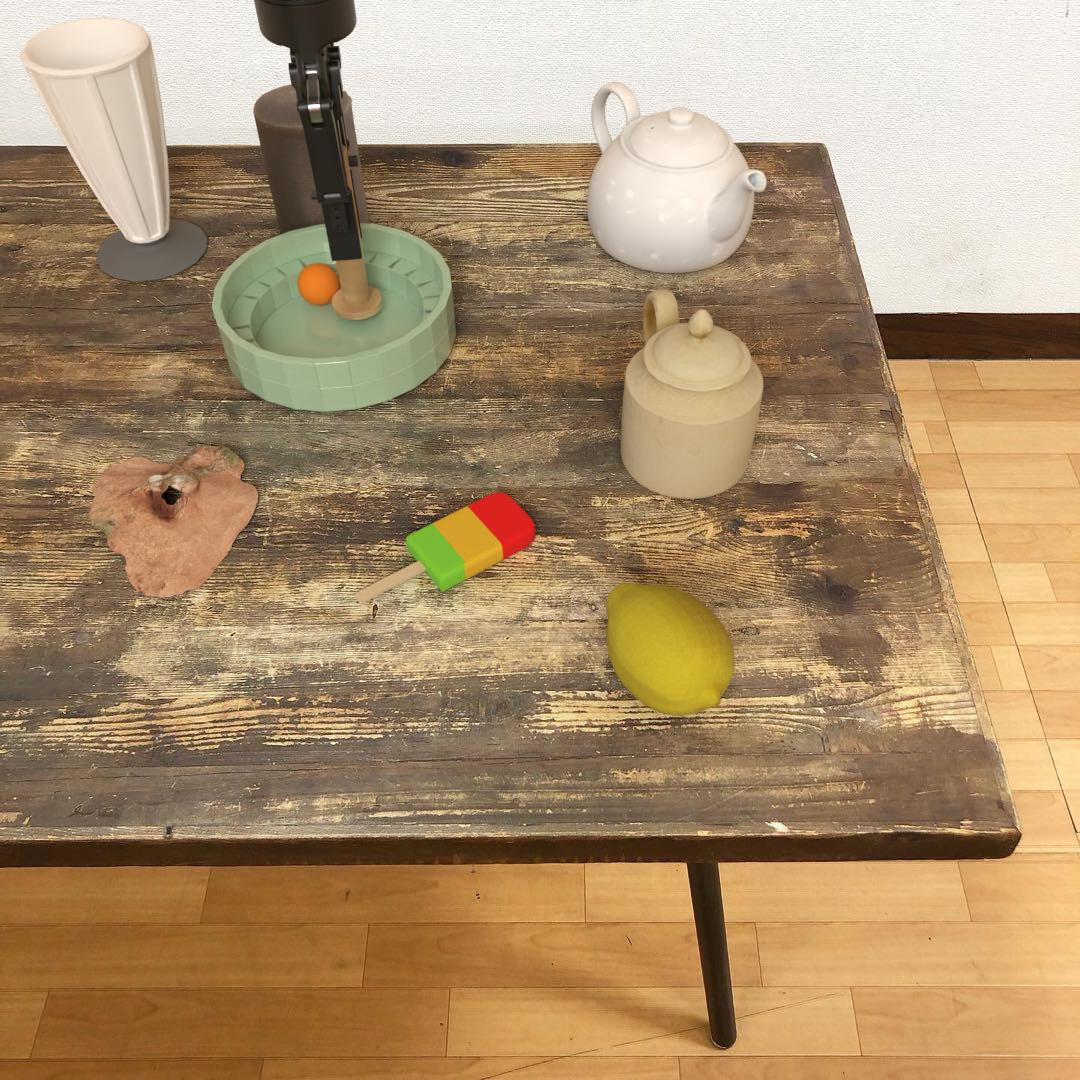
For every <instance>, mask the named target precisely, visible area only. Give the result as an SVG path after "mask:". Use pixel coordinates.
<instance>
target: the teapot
mask: <svg viewBox="0 0 1080 1080" xmlns="http://www.w3.org/2000/svg"><path fill="white" fill-rule="evenodd" d="M611 93H612V94H614V95H615V96H616V97H617V98H618V100H619V101H620V103H621V104H622V107H623V109H624V113H625V122H626V123H625V126H624V127H623V128H622V130H621V132H620V133H619V134H618V135H617V136H616V138H614V139H612V137H611V134H610V131H609V128H608V125H607V119H606V105H607V101H608V98H609V97H610V95H611ZM590 109H591V112H590V113H591V114H590V117H591V126H592V130H593V134H594V138H595V140H596V142H597V145H598V148H599V149H600V152H601V156H600V157H599V159H598V160H597V162H596V164H595V166H594V169H593V171H592V174H591V176H590V181H589V184H588V189H587V197H586V211H587V212H586V213H587V219H588V224H589V229H590V231H591V234H592V236H593V237H594V239H595V241H596V242H597V244H598V245H599V246H600V247H601V248H602V250H603V251H604V252H605V253H607V254H608V255H609V256H611V258H613V259H614V260H617V261H619V262H621V263H623V264H624V265H628V266H630V267H633V268H636V269H639V270H643V271H647V272H651V273H659V274H685V273H693V272H699V271H702V270H706V269H709V268H711V267H714V266H717V265H719V264H721V263H723V262H724V261H726V260H728V258H730V257H731V256H732V255H733V254H734V253H735V252H736V251H737V250H738V249H739V248H740V247H741V245H743V242H744V240H745V239H746V237H747V235H748V233H749V229H750V228H751V223H752V220H753V215H754V209H755V193H762V192H764V191H765V190H766V187H767V184H768V183H767V182H768V181H767V176H766V175H765V173H764V172H763V171H761V170H759V169H755V168H749V165H748V162H747V161H746V159H745V157H744V155H743V153H742V152H741V150H740V149H739V147H738V146H737V145H736V144H735V142H734V140H733V137H732V135H731V134H730V133H729V132H728V130H726V128H724V127H723V126H722V125H720V124H718V123H717V122H716V121H714V120H713V119H711V118H710V117H708V116H706V115H704V114H701V113H699V112H695V111H692V110H691V109H690V108H688V107H684V106H676V107H673V108H671V109H670V110H664V111H660V112H656V113H651V114H647V115H642V116H641V110H640V105H639V102H638V99H637V98H636V95H635V94H634V92H633V91H632V90H631V88H629V87H628V86H627V85H626V84H624V83H623V82H620V81H613V82H609V83H606V84H604V85H602V86H601V87H599V89H598V90H597V91H596V93H595V95H594V97H593V99H592V103H591V108H590Z"/></svg>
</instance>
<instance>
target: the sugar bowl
mask: <svg viewBox="0 0 1080 1080" xmlns="http://www.w3.org/2000/svg"><path fill="white" fill-rule="evenodd" d="M674 294H675V293H673V291H671V290H668V289H665V288H658V289H655V290H652V291H650V292H649V293H648V294H647V295H646V296H645V299H644V303H643V310H642V331H643V341H644V343H643V344H644V347H643V348H641V349H640V350H638V351H637V352H636V353H635V354H634V355H633V356H632V357H631V359H630V360H629V363H628V364H627V365H626V369H625V372H624V382H623V383H624V385H623V395H622V405H621V425H620V427H621V431H620V457H621V461H622V463H623V466H624V469H626V471H627V473H628V475H630V476H631V478H632V479H633V480H634V481H636V483H638V484H639V485H641V486H642V487H643V488H645V489H646V490H648V491H651V492H653V493H655V494H657V495H660V496H663V497H668V498H672V499H679V500H680V499H681V500H697V499H704V498H705V499H707V498H710V497H711V498H712V497H715V496H717V495H720V494H723V493H724V492H726V491H728V490H729V489H731V488H733V487H734V486H735V485H736V484H738V483H739V482H740V481H741V479H742V478H743V476H744V475H745V473H746V471H747V469H748V467H749V463H750V458H751V455H752V451H753V450H752V449H753V446H754V441H755V436H756V433H757V428H758V422H759V418H760V412H761V405H762V399H763V394H764V377H763V374H762V371H761V369H760V367H759V366H758V364H757V363H756V361H754V360H753V359H752V355H751V351H750V350H749V347H748V345H747V344H746V343H745V342H744V341H743V340H741V338H740V337H739V336H737V335H736V334H735V333H733V332H732V331H729V330H727V329H724V328H723V327H720V326H717V325H714V320H713V317H712V315H711V314H710V313H709V312H708V311H707V310H706V309H703V308H700V309H698V310H696V311H695V312H694V313H693V314H692V315H691V316H690V318H689V320H688V322H680V311H679V304H678V301H677V299H676V297H675V295H674Z"/></svg>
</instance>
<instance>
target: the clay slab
mask: <svg viewBox="0 0 1080 1080" xmlns="http://www.w3.org/2000/svg"><path fill="white" fill-rule="evenodd" d="M244 469H245V463H244V461H243V460H242V459H241V458H240V456H239V455H238V454H237V453H235V452H233V451H232V450H231V448H228V447H226V445H217V446H213V445H202V446H198V447H196V448H194V449H193V450H191V451H190V452H189V453H187V454H186V455H184V457H182V458H180V459H179V460H177V462H175V463H171V464H170V463H169V464H166V463H155V462H153V461H151V460H150V459H149V458H146V457H144V456H133V457H131V458H129V459H127V460H125V461H123V462H121V463H119V464H115V465H113V466H111V467H108V468H106V469H105V471H104V473H103V474H102V475H101V476H100V478H98V479H97V481H96V482H95V484H94V486H93V487H92V494H93V496H94V497H93V499H92V502H93V503H92V504H91V506H90V510H89V511H88V518H89V520H90V524H91V526H93V528H96V529H99V530H101V531H102V532H103V533H104V535H105V537H106V541H107V542H106V543H107V545H108V547H109V548H110V550H111V551H112V552H114V553H117V554H119V555H121V556H123V557H124V558H125V562H126V564H125V567H124V569H125V572H126V574H127V578H128V581H129V583H130V584H131V585H132V587H133V588H134V589H135V590H136V591H137V592H138V593H139V594H143V595H144V596H146V597H151V598H159V599H165V598H171V597H174V596H180V595H182V594H184V593H185V592H186V591H190V590H200V587H201V586H202V585H203V584H204V583H205V582H206V581H207V580H208V579H209V578H211V577H212V575H213V573H214V571H215V570H216V569H217V568H218V566H219V565H220V564H221V563H222V561H223V560H225V558H226V557H227V556H228V553H229V552H230V551H231V549H232V546H233V543H235V541H236V539H237V537H238V535H239V533H241V532H242V531H243V530H244V529H245V527H246V526H248V524H249V523H250V521H251V519H252V518H253V515H254V513H255V510H256V508H257V504H258V502H259V493H258V490H257V488H256V487H255V486H254V485H253V484H251V483H247V482H244V481H243V480H241V477H242V476H241V475H242V474H243V471H244ZM169 486H170V487H171V488H173V489H174V490H176V491H178V492H179V494H180V495H181V496H180V497H179V498H178V499H177V500H176V501H175V503H174V504H169V503H167V502H166V500H165V498H162V496H163V494H164V493H166V491H167V490H168V488H169Z"/></svg>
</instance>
